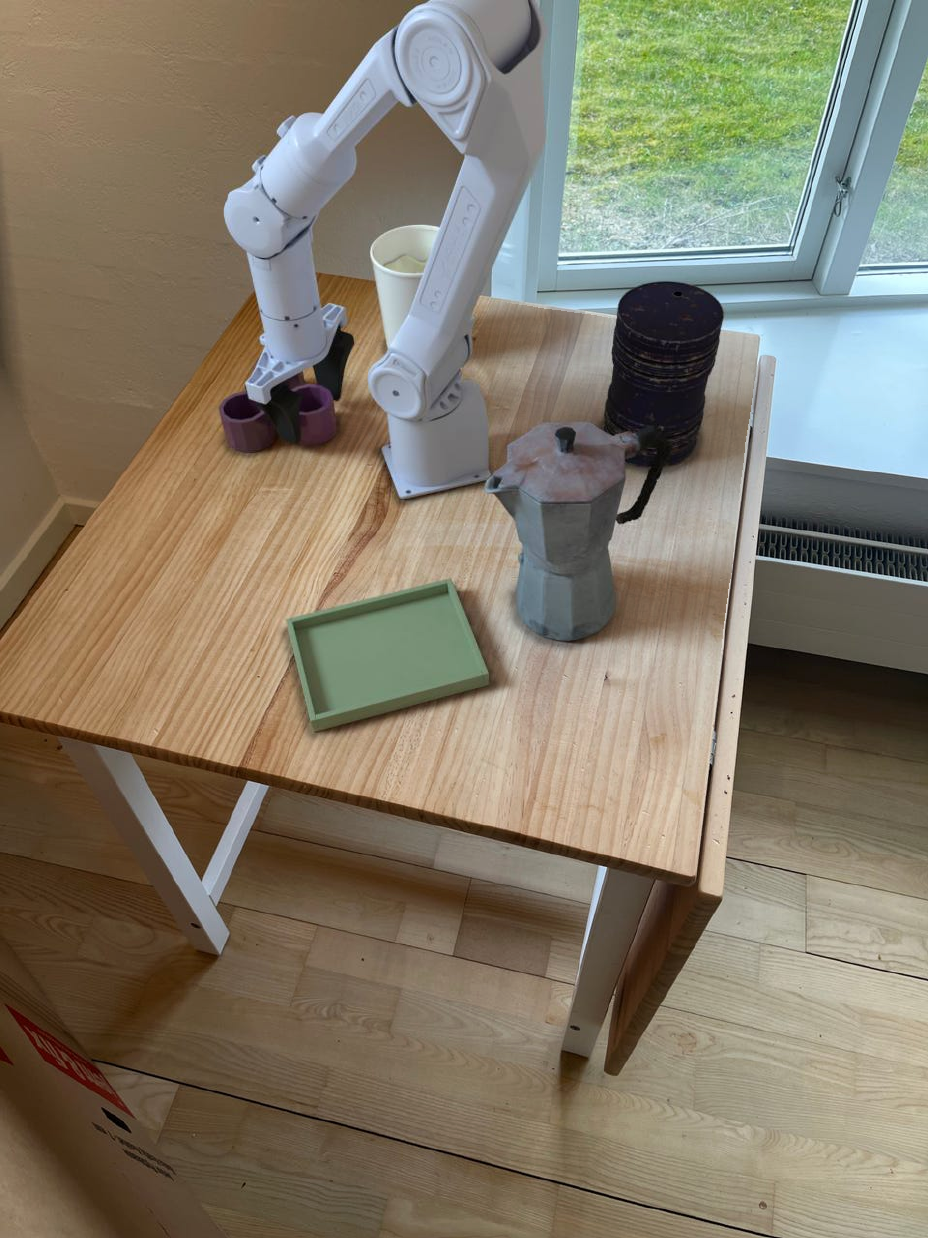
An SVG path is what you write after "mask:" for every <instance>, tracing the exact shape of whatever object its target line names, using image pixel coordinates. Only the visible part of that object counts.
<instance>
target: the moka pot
mask: <svg viewBox="0 0 928 1238" xmlns="http://www.w3.org/2000/svg"><path fill="white" fill-rule="evenodd" d="M649 447H654V448H655V449H656V450H657V453H656V455H655V457H654V458H653V460H652V461H651V462H650V465H649V467H651V468H648V471H647V474H646V478H645V479H644V482H643V484H642V487H641V489H640V493H639V494H638V496H637V498H636V500H635V502H634V503H633V505H632V506H631V507H630V508H629V509H628V510H625V511H623V512H619V509H620V504H621V500H622V496H623V491H624V487H625V483H626V479H627V472H626V471H627V470H626V462H625V459H628V458H631V457H634V456H636V455H638V454H639V453H640V452H641V451H643V450H644V449H646V448H649ZM506 449H507V450H506V463H505V464H503V465H502V466H501V467H499V468H497V469H496V470H495V471H493V473H492V474H491V477H490V478H489V479H488V480H486V481H485V483H484V486H483V489H484V491H485V493H486V494H487V495H489V494H491V495H494V496H495V498H496V499H497V500H498V501H499V503H500V504H501V505H502V506H503V508H504V509H505V511H506V512H507V513H508V514H509V515H510V516H511V518H512V519H513V521H514V524H515V529H516V533H517V537H518V541H519V542H520V543H521V545H522V546H521V552H520V553H519V554H518V555H517V556H518V557H517V559H518V563H519V567H518V576H517V582H516V583H517V584H516V589H515V591H516V592H515V593H516V606H517V612H518V617H519V618H520V620H521V621H522V622H523V623H524V624H525V625H526V626H527V627H528V628H529V629H530V630H531V631H533V632H534V633H536V634H537V635H540V636H541V637H544V638H546V639H550V640H557V641H563V642H565V641H567V642H570V641H571V642H572V641H577V640H580V639H584V638H587V637H589V636H591V635H595V634H597V633H598V632H600V631H601V630H602V629H603V628H604V627H605V626H607V624H608V623H609V622H610V620H611V618H612V616H613V614H614V612H615V610H616V608H617V600H616V593H615V586H614V585H615V584H614V580H613V579H614V577H613V571H612V562H611V556H610V551H609V544H610V542H611V541H612V539H613V534H614V529H615V525H616V523H617V524H618V525H619V526H621V525H624V524H626V523H628V522H632V521H636V520H639V519H640V518H642V516H643V512H644V511H645V508H646V506H647V505H648V503H649V501H650V499H651V495H652V494H653V491H654V490H655V488H656V486H657V484H658V480H659V479H660V477H661V476H662V472H663V470H664V466H665V463H666V461H667V460H668V459H669V456H670V455H671V451H672V449H673V446H672V444H671V442H670V441H668V440H666V437H665V436H663V435H661V436H660V434H659V431H656V430H655V429H654V427H653V426H649V427H647V428H644V429H641V430H639V431H637V432H636V433H632V432H631V431H627V432H623V433H620V434H616V435H615V436H612V435H610V434H608V433H606V432H605V431H603V429H601V428H600V427H598V426H596V425H595V424H593V423H592V422H590V421H559V422H558V421H557V422H552V421H551V422H542V423H539V424H538V425H536V426H535V427H533V428H532V429H530V430H529V431H527V432H526V433H524V434H523V435H521V436H519V437H518V438H516V439H515V440H513V441H511V442H510V443H509V444H508V445H507V448H506ZM618 512H619V513H618Z"/></svg>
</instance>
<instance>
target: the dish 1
mask: <svg viewBox="0 0 928 1238" xmlns="http://www.w3.org/2000/svg"><path fill="white" fill-rule="evenodd" d="M218 413H219V417H220V420H221V424H222V427H223V431H224V434H225V438H226V441H227V444H228V445H229V447H230V448H231V449H232V450H235V451H237V452H240V453H256V452H259V451H262V450H264V449H266V448H268V447H269V446H270V445H271V444H272V443H273V441H274V440H275V437H276V429H275V427H274V425H273V424H272V422H271V421H270V419H269V418H268V416H267V415H266V414H265V413H264V411H263V410H262V409H261V408H260V407H259V406H258V405H257V404H256V403H255V402H254V401H253V400H251V399H249V397H248V396H247V395H246V391H245V390H244V391H240V392H239V391H238V392H234V393H232V394H229V396H227V397H225V398H224V399H222V401H221V403H220V405H219V406H218Z"/></svg>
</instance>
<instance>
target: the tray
mask: <svg viewBox="0 0 928 1238" xmlns="http://www.w3.org/2000/svg"><path fill="white" fill-rule="evenodd" d="M285 622H286V626H287V631H288V634H289V639H290V643H291V647H292V650H293V655H294V659H295V664H296V667H297V672H298V675H299V676H298V677H299V680H300V685H301V688H302V691H303V696H304V700H305V704H306V708H307V712H308V717H309V720H310V724H311V728H312V732H313V733H316V732H320V731H323V730H327V729H331V728H334V727H338V726H343V725H346V724H349V723H353V722H356V721H357V722H358V721H360V720H364V719H367V718H372V717H375V716H379V715H383V714H386V713H390V712H393V711H397V710H401V709H405V708H408V707H409V708H410V707H412V706H416V705H419V704H423V703H427V702H430V701H434V700H439V699H442V698H445V697H449V696H453V695H457V694H461V693H464V692H468V691H471V690H475V689H479V688H482V687H486V686H489V685H490V672H489V670H488V668H487V665H486V662H485V659H484V657H483V655H482V652H481V649H480V647H479V645H478V642H477V640H476V637H475V634H474V632H473V629H472V627H471V625H470V623H469V619H468V616H467V615H466V612H465V610H464V607H463V605H462V602H461V600H460V597H459V595H458V591H457V589H456V587H455V584H454V582H453V580H452V577H449V578H446V579H442V580H437V581H434V582H433V581H432V582H430V583H426V584H421V585H418V586H414V587H409V588H405V589H401V590H398V591H393V592H389V593H384V594H382V595H377V596H373V597H370V598H365V599H361V600H358V601H353V602H350V603H349V602H348V603H345V604H341V605H336V606H334V607H333V606H332V607H330V608H325V609H320V610H316V611H313V612H309V613H305V614H300V615H297V616H292V617H289V618H285Z"/></svg>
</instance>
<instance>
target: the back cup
mask: <svg viewBox="0 0 928 1238" xmlns="http://www.w3.org/2000/svg"><path fill="white" fill-rule="evenodd" d="M258 361H259V359H258V360H257V361H255V364H254V366H253V371H254V370H255V368H256V365H257V363H258ZM284 383H285V385H288V387H289V390H292V389H294V388H295V387H297V386H301V385H306V380H305V374H304V371H302V372H300V373H298V374H296V375H294V376H292V377H290V378H289V379H287V380H285V381H284Z"/></svg>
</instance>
